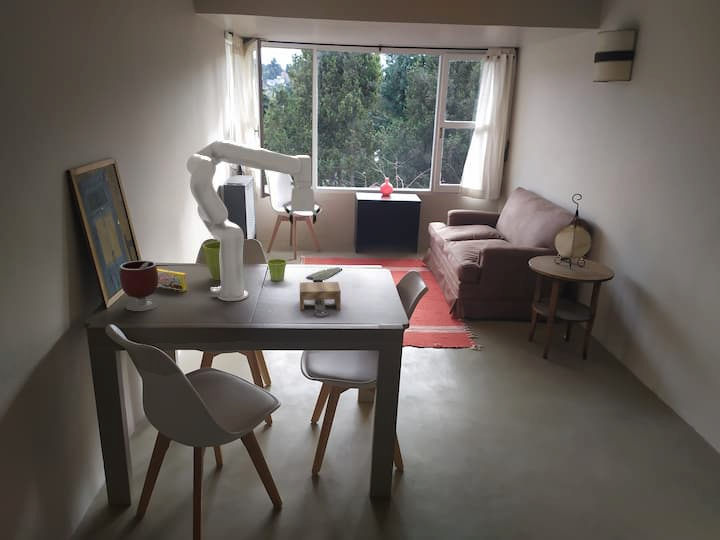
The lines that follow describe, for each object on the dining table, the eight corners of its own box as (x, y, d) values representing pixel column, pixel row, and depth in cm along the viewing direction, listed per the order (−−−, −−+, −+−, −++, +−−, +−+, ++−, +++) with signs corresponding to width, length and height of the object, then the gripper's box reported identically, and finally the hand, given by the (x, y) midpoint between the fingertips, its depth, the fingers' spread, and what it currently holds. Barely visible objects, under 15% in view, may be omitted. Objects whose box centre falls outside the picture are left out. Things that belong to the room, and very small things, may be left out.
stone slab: (304, 281, 256) (323, 282, 251) (304, 276, 255) (322, 276, 251) (327, 270, 275) (344, 270, 271) (326, 265, 275) (343, 265, 270)
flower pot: (223, 271, 263) (221, 239, 259) (244, 277, 255) (243, 244, 250) (198, 278, 251) (196, 245, 247) (219, 285, 243) (217, 250, 239)
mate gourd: (116, 306, 214) (111, 257, 209) (149, 297, 225) (145, 251, 219) (136, 316, 205) (130, 265, 199) (169, 307, 215) (165, 258, 209)
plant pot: (291, 278, 255) (291, 260, 252) (278, 283, 247) (278, 265, 245) (276, 275, 260) (276, 257, 257) (263, 279, 252) (262, 261, 249)
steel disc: (314, 317, 208) (314, 314, 207) (315, 313, 212) (315, 309, 212) (327, 318, 207) (327, 314, 207) (328, 313, 212) (328, 309, 212)
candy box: (154, 287, 238) (152, 269, 236) (157, 286, 240) (156, 268, 238) (183, 292, 233) (182, 274, 230) (187, 291, 234) (185, 272, 232)
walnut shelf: (300, 310, 214) (300, 291, 211) (299, 300, 225) (299, 282, 223) (340, 310, 216) (340, 291, 213) (338, 300, 227) (338, 281, 225)
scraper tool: (314, 309, 216) (314, 292, 214) (312, 292, 236) (312, 277, 234) (324, 309, 216) (324, 292, 214) (322, 292, 236) (322, 277, 234)
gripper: (282, 185, 229) (283, 225, 234) (323, 185, 231) (323, 225, 236) (282, 183, 236) (283, 221, 241) (322, 183, 238) (322, 221, 243)
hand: (302, 223), depth 238 cm, fingers open, 9 cm apart
